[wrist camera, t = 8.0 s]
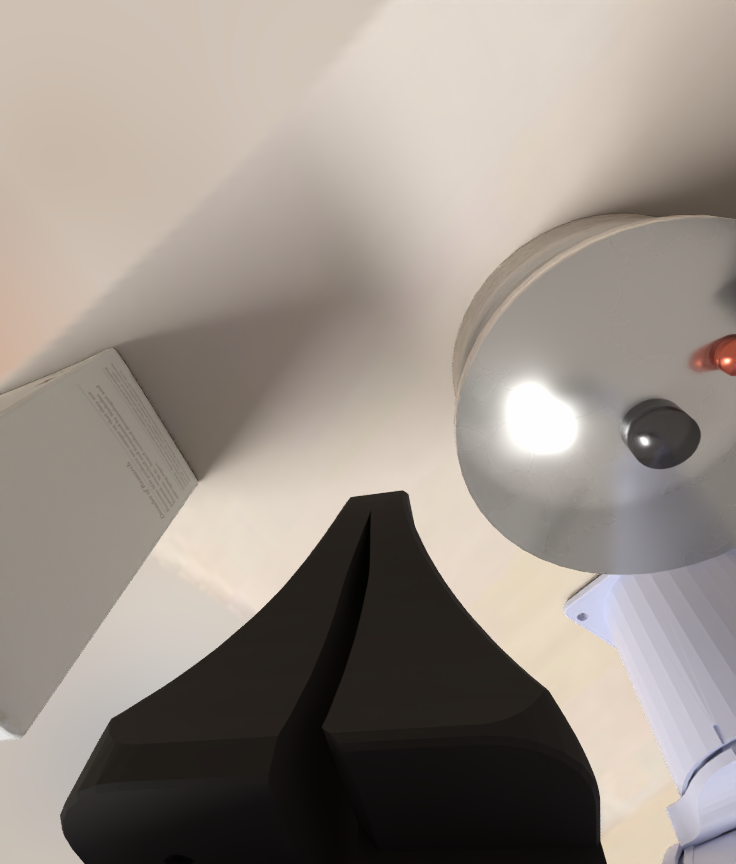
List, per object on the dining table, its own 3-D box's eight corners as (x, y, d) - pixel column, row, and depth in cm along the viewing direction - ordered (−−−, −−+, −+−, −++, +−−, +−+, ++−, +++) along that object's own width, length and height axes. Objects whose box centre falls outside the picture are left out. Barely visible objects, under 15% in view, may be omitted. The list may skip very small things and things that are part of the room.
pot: (1011, 165, 17) (1202, 164, 13) (588, 522, 24) (624, 593, 20) (792, -96, 14) (941, -199, 10) (398, 388, 22) (395, 438, 18)
